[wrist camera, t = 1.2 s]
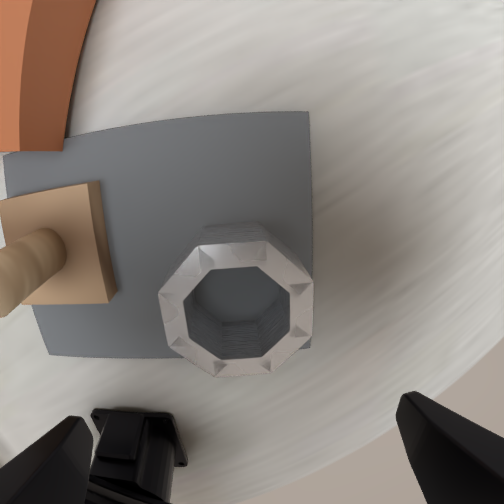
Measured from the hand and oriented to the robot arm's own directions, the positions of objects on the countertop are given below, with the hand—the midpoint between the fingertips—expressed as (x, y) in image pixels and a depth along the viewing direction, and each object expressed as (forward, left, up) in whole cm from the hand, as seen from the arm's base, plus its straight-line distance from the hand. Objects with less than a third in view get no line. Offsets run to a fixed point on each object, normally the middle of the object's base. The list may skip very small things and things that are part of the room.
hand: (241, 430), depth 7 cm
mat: (+2, +4, -10) cm, 11 cm away
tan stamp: (+3, +9, -10) cm, 14 cm away
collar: (0, 0, -10) cm, 10 cm away
